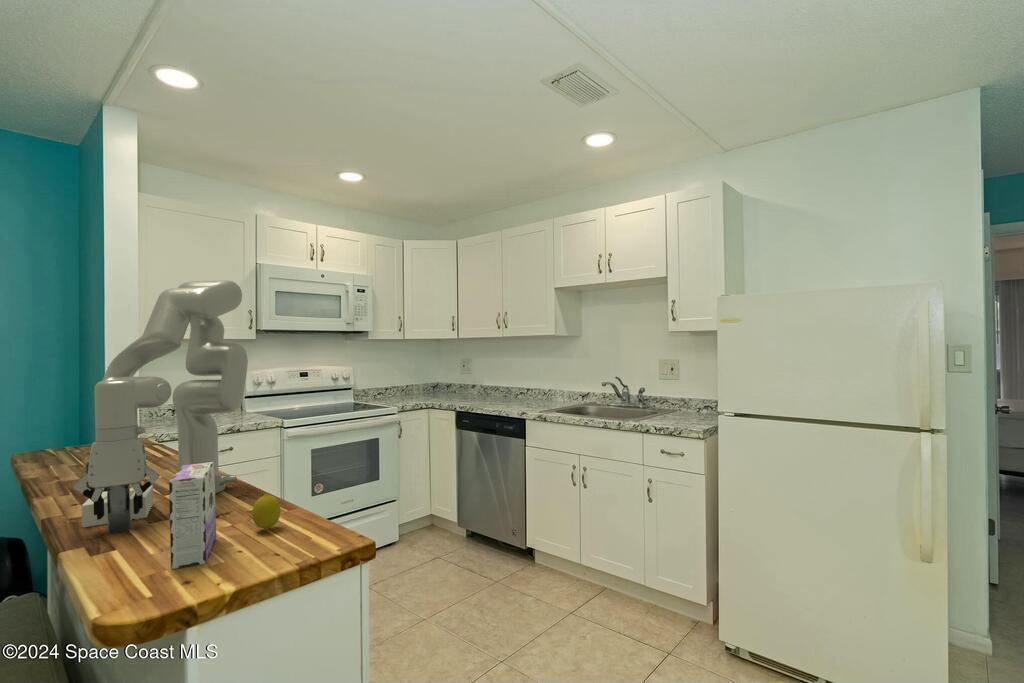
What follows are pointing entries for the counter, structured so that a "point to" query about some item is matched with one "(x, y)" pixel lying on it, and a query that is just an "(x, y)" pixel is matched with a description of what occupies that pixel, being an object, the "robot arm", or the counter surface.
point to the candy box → (192, 515)
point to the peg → (118, 508)
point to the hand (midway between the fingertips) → (119, 514)
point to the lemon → (266, 512)
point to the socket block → (91, 519)
